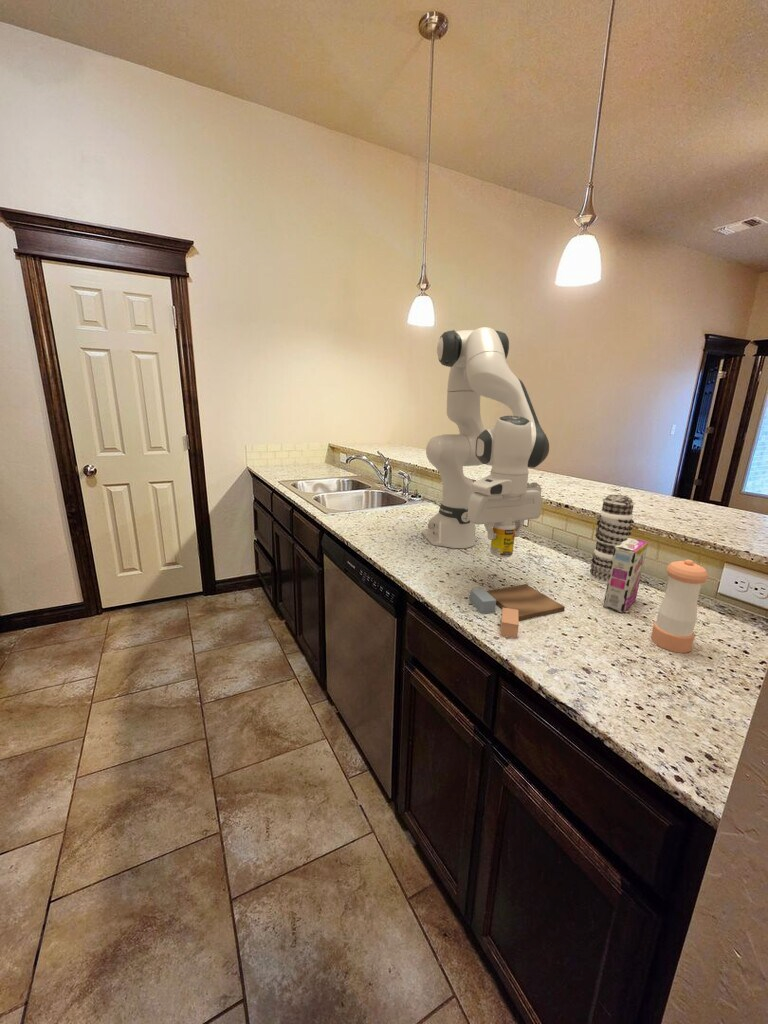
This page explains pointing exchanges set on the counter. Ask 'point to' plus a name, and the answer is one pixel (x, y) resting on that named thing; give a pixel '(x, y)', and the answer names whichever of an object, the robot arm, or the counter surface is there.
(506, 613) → the brick terracotta
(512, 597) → the board
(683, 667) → the counter surface
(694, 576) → the pepper shaker
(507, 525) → the supplement bottle
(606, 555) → the decorative candle
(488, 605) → the brick blue
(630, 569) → the candy bar box
